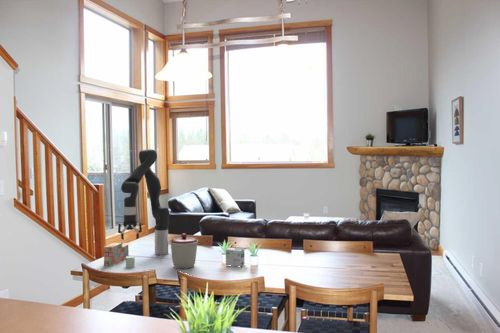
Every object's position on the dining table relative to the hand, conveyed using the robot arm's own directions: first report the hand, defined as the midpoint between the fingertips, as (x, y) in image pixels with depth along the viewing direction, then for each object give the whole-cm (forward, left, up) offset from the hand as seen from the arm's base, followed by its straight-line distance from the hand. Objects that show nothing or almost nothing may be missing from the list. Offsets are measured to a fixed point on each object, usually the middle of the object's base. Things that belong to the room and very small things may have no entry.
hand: (130, 239), depth 269 cm
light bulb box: (-65, +12, -17) cm, 68 cm away
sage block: (0, 0, -17) cm, 17 cm away
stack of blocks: (+9, -14, -18) cm, 24 cm away
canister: (-33, +8, -17) cm, 38 cm away
